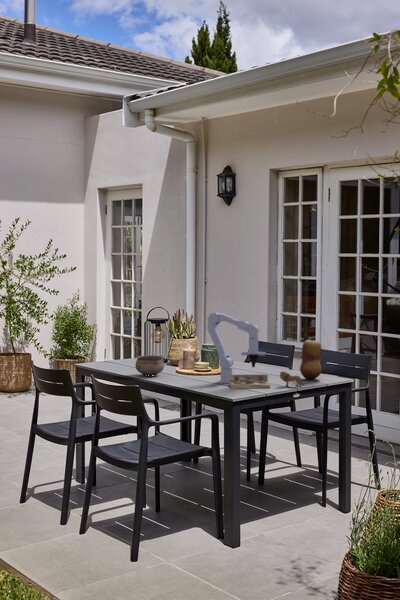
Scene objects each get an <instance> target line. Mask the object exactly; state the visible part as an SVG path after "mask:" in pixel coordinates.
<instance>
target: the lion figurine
mask: <svg viewBox="0 0 400 600" xmlns="http://www.w3.org/2000/svg"><path fill="white" fill-rule="evenodd" d="M279 378H280V379H281V380H282V381H283V382H285V383H286V384H285V387H286V388H287V387H289V383H293V382H296V385H295V387H299V388H302V387H305V385H304V384H303V382H302V378H301V377H300V375H297V374H296V375H291V374H290V373H288V372H286V371H284V370H283V371H282V370H281V372H279Z"/></svg>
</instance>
